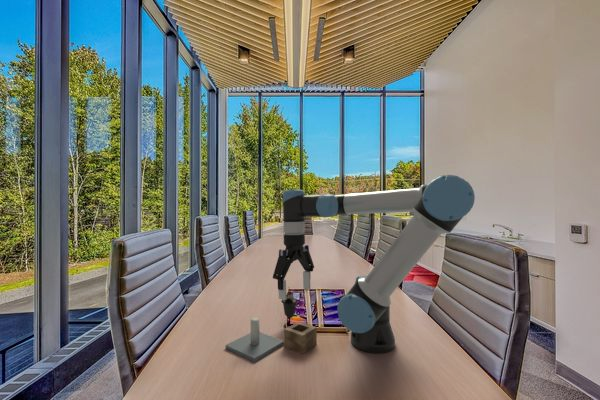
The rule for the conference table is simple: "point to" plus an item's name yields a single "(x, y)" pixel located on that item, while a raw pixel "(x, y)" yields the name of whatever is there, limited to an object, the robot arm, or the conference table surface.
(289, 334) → the collar
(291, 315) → the sundae
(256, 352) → the post stand
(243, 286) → the conference table surface
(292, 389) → the conference table surface
